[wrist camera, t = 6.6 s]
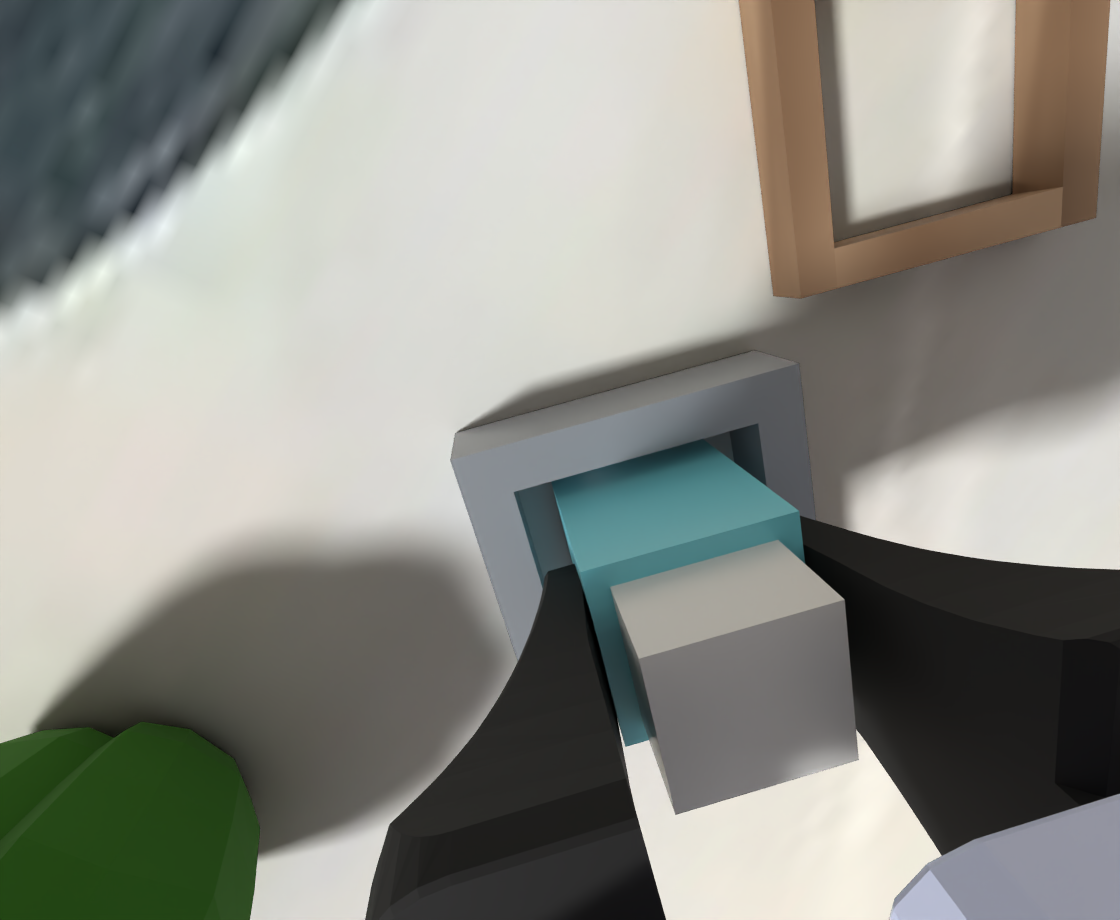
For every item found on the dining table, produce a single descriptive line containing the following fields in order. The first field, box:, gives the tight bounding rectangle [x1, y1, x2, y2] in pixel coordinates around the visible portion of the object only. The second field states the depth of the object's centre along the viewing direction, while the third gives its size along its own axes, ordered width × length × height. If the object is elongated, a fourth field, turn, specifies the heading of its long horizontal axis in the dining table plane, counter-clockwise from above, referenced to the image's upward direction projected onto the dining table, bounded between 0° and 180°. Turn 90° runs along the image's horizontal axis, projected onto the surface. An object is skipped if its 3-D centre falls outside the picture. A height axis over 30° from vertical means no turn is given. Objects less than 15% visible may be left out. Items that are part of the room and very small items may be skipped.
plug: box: [551, 439, 859, 815], centre depth 11 cm, size 4×4×6 cm
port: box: [450, 350, 816, 660], centre depth 13 cm, size 7×7×2 cm
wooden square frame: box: [739, 0, 1110, 298], centre depth 11 cm, size 7×7×1 cm
